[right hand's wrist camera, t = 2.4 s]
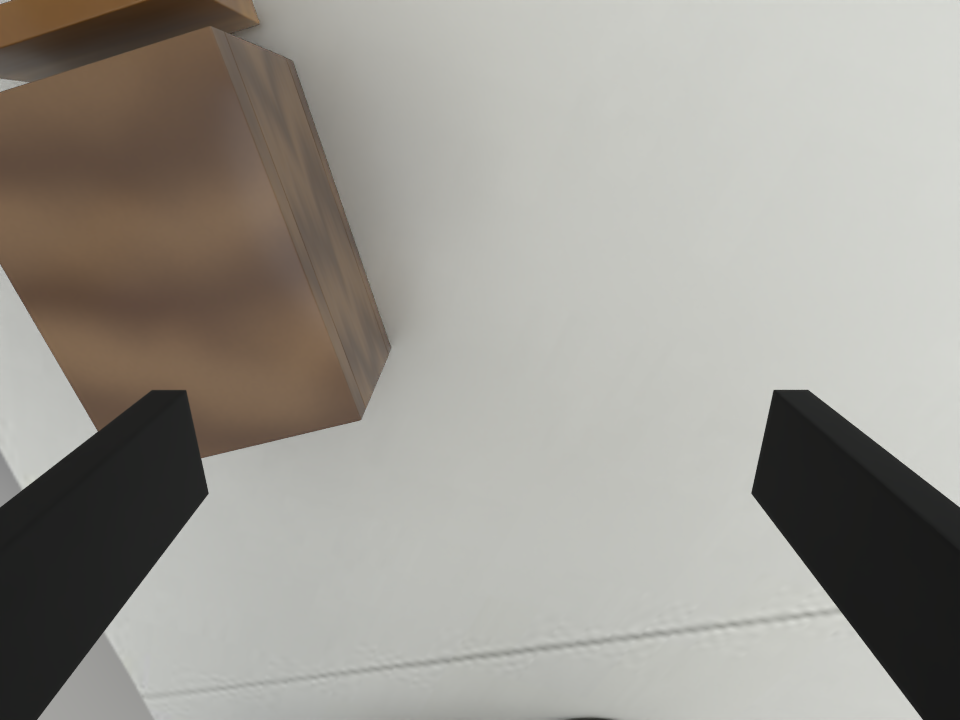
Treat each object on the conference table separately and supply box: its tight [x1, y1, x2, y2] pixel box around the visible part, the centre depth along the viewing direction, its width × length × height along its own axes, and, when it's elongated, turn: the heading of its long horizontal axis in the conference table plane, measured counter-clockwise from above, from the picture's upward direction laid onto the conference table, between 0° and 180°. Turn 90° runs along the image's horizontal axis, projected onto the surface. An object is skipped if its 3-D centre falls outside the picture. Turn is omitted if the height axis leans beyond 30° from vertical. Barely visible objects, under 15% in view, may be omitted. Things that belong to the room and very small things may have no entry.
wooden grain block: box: [0, 26, 391, 458], centre depth 26 cm, size 15×11×9 cm
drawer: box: [0, 0, 260, 82], centre depth 24 cm, size 19×10×7 cm, turn 15°
